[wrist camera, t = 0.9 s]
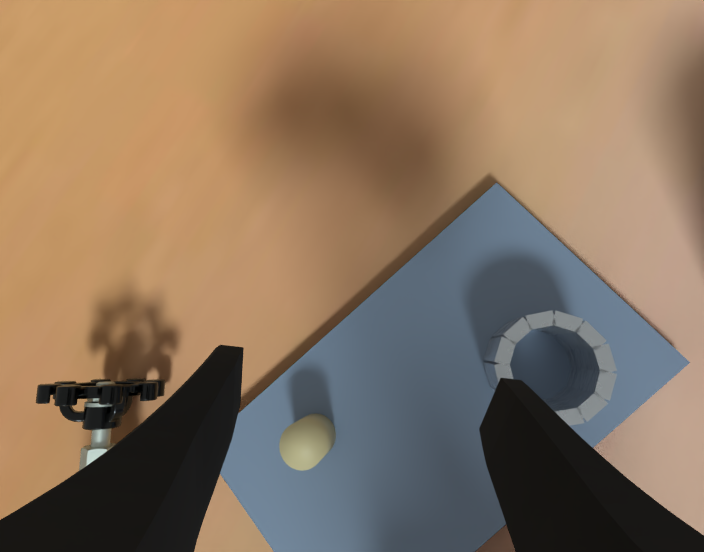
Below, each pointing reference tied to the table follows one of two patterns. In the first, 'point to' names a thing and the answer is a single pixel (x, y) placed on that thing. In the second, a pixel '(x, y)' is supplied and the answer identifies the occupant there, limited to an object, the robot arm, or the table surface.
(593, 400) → the grey hollow cylinder
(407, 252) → the table surface
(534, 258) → the plate
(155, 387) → the valve
